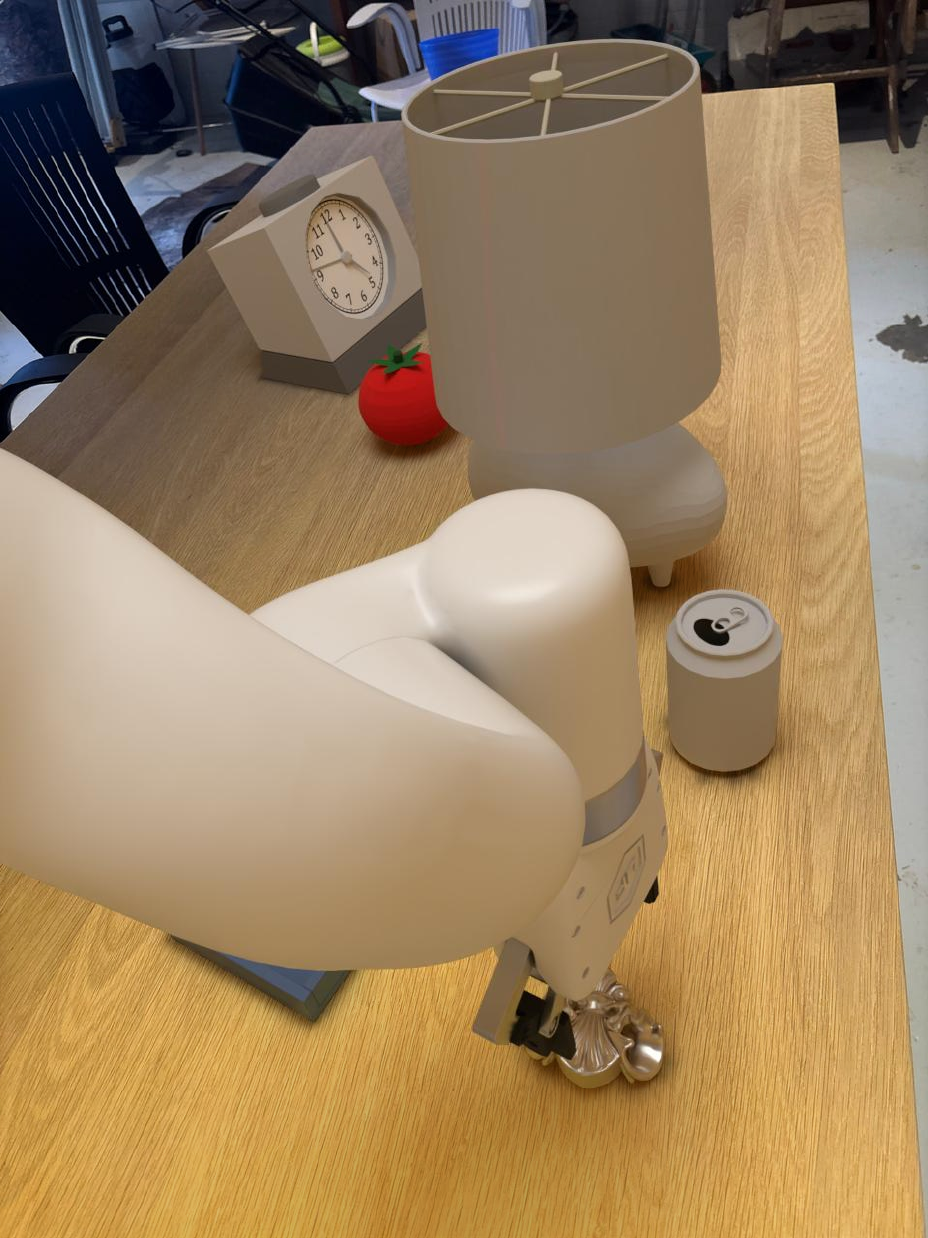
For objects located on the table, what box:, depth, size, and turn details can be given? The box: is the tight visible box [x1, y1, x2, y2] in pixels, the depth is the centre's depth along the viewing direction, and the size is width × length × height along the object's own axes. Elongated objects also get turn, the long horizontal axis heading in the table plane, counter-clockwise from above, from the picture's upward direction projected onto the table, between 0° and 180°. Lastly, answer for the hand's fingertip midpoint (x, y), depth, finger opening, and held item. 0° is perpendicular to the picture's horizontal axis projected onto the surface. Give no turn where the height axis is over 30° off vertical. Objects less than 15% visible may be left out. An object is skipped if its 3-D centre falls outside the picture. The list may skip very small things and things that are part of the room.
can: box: [665, 588, 784, 773], centre depth 70 cm, size 8×8×12 cm
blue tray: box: [170, 935, 352, 1023], centre depth 70 cm, size 15×13×3 cm
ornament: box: [525, 967, 666, 1089], centre depth 59 cm, size 8×7×4 cm
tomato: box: [357, 342, 449, 447], centre depth 108 cm, size 10×10×10 cm
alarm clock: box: [206, 154, 427, 395], centre depth 123 cm, size 20×16×20 cm
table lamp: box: [400, 38, 728, 588], centre depth 77 cm, size 23×22×40 cm
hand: (590, 962), depth 55 cm, fingers open, 9 cm apart
